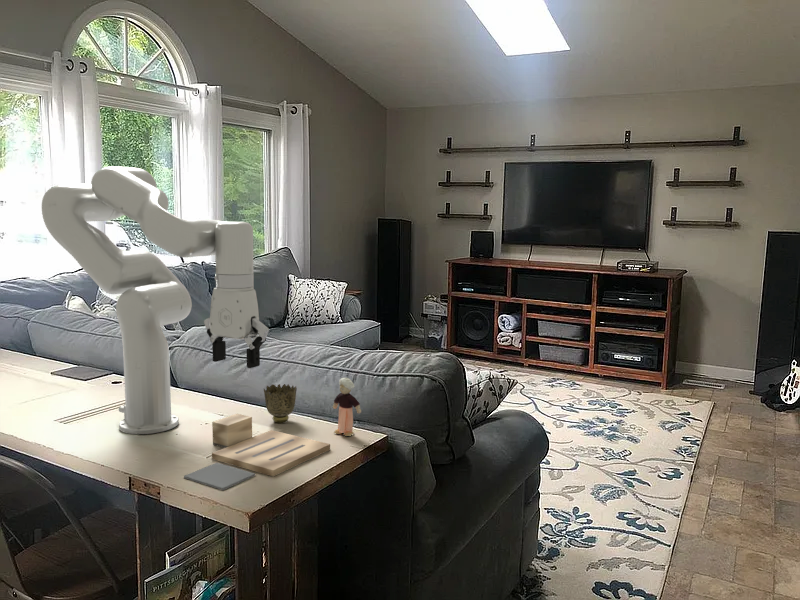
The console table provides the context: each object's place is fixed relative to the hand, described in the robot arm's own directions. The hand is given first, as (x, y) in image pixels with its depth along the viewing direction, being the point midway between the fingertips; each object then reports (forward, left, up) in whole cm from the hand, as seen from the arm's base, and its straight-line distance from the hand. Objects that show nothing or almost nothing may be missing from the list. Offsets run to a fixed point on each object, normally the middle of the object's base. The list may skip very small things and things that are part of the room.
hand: (236, 363), depth 145 cm
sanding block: (0, -1, -17) cm, 17 cm away
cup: (-1, +15, -17) cm, 23 cm away
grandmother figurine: (+17, +16, -17) cm, 29 cm away
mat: (+12, -16, -17) cm, 26 cm away
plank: (+12, -2, -17) cm, 20 cm away
